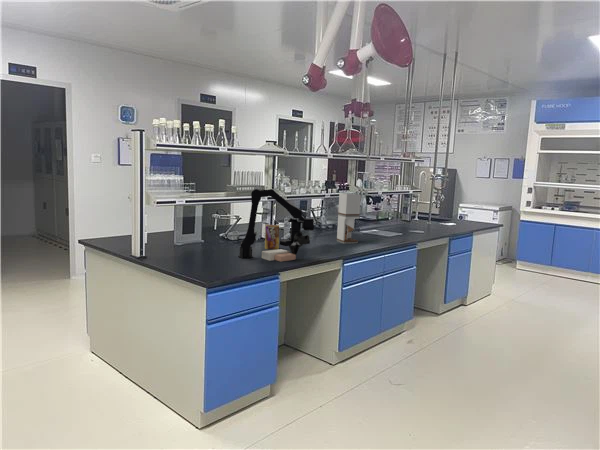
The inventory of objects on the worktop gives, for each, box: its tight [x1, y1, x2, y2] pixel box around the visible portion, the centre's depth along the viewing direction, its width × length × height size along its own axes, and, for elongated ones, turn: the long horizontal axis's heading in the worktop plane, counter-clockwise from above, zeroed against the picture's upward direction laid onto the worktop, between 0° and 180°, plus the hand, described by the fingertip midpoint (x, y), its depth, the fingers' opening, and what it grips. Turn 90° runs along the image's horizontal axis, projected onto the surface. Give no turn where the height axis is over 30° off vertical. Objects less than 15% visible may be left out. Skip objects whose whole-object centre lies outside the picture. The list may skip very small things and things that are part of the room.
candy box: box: [264, 224, 280, 250], centre depth 284 cm, size 9×4×15 cm, turn 96°
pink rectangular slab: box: [274, 252, 297, 263], centre depth 252 cm, size 11×5×3 cm, turn 132°
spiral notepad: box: [261, 248, 290, 262], centre depth 257 cm, size 14×8×4 cm, turn 132°
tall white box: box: [336, 192, 362, 245], centre depth 319 cm, size 11×11×35 cm
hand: (294, 256), depth 257 cm, fingers closed
